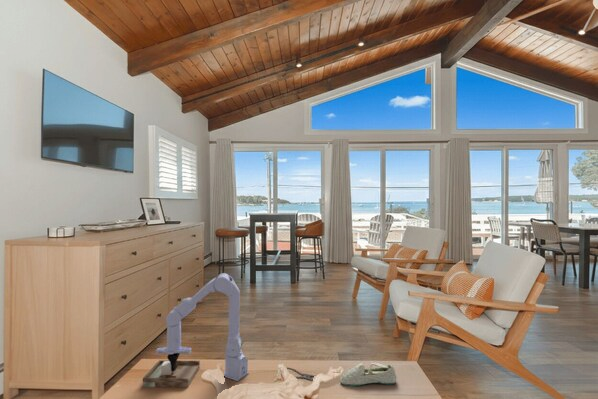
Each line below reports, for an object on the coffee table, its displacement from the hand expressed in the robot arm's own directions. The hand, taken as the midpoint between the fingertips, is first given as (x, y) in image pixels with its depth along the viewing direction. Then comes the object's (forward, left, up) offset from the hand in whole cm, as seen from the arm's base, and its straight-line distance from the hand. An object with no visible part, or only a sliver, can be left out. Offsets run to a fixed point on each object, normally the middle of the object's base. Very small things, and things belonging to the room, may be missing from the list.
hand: (173, 370), depth 142 cm
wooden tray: (0, 0, -3) cm, 3 cm away
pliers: (-45, -30, -4) cm, 55 cm away
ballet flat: (-73, -40, -3) cm, 84 cm away
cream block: (+2, +1, -1) cm, 3 cm away
